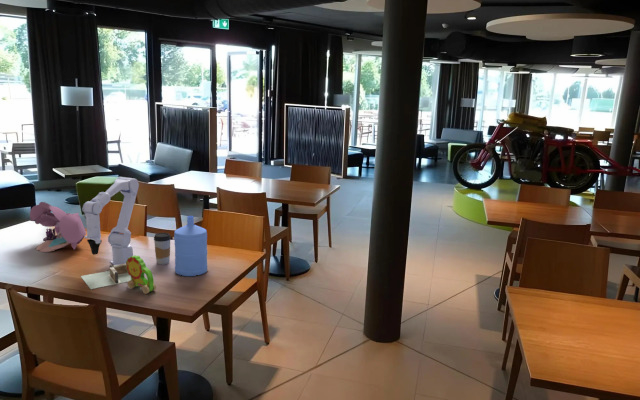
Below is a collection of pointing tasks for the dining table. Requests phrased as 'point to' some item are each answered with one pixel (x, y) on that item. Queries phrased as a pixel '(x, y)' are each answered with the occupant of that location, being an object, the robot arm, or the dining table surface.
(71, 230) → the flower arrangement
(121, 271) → the fixed fence section
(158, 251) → the coffee cup
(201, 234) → the water jug
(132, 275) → the toy lion
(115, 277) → the hinged fence section
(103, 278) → the card
